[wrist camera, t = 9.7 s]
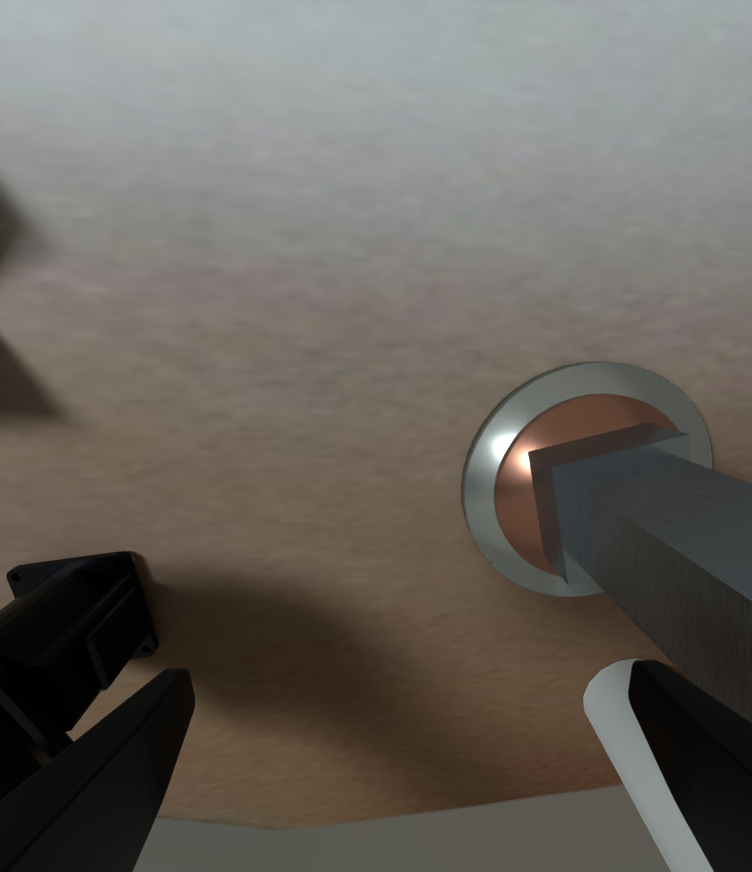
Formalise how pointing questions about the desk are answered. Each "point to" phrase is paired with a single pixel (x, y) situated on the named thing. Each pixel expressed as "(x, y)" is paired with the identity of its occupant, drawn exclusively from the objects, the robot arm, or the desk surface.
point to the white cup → (640, 767)
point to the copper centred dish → (550, 425)
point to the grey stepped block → (657, 546)
